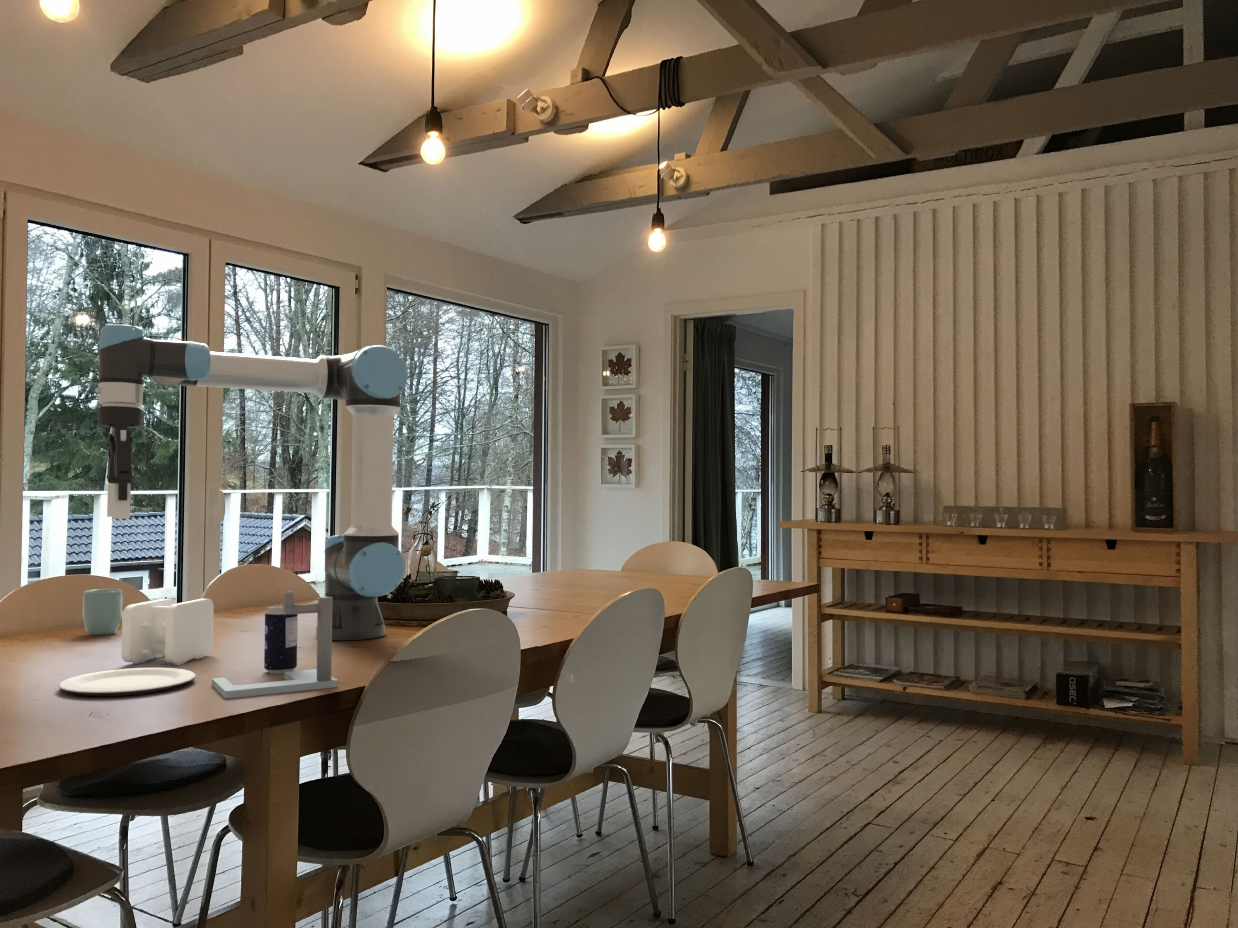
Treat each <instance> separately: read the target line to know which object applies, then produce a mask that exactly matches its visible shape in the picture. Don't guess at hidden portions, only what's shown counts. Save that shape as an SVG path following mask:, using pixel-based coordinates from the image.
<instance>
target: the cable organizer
mask: <svg viewBox="0 0 1238 928" xmlns="http://www.w3.org/2000/svg"><path fill="white" fill-rule="evenodd" d="M214 610H215V609H214V603H213V601H212V599H211V598H198V599H193V600H189V601H184V602H178V603H176V601H175V600H174V599H172V598H160V599H154V600H148V601H143V602H142V601H141V602H138V603H132V604H128V605H127V606H125V608H124V609H123V610H122V616H121V659H122V661H124V662H126V663H132V664H133V665H139V664H142V663H145V662H147V660H149V659H150V660H151V659H160V658H165V661H166V662H168V663H171V664H173V665H174V666H180V665H183V664H185V663H187V662H188V661H189V660H192V659H193V660H199V659H202V658H205V657H206V655H208V654H210V653H211V651H212V649H213V646H214Z"/></svg>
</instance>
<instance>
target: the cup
mask: <svg viewBox="0 0 1238 928" xmlns="http://www.w3.org/2000/svg"><path fill="white" fill-rule="evenodd" d="M122 611H123V590H122V588H121V589H119V588H98V589H97V588H96V589H87V590H84V591H83V596H82V620H83V626H84V629H85V631H86V632H87V633H88V634H89V635H90V636H91V635H92V636H107V635H111V634H112V635H113V634H114V633H116V632H117V631H118V629H119V628H120V626H121V623H122Z"/></svg>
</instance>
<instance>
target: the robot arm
mask: <svg viewBox="0 0 1238 928" xmlns="http://www.w3.org/2000/svg"><path fill="white" fill-rule="evenodd" d="M144 333H145V332H144V329H143V328H141V327H140V326H136V325H135V326H134V325H129V324H120V323H119V324H106V325H105V326H103V327H102V328H101V329H100V335H99V345H98V387H96V388H95V389H94V392H95V393H97V394H99V395H98V404H100V405H101V406H100V407H99V408H97V425H98V426H100V427H102V428H112V429H111V432H109V434H108V436H107V439H106V441H107V442H106V443H107V456H108V460H107V461H108V462H107V475H106V479H107V482H108V483H107V502H106V503H107V508H106V511H107V512H106V513H107V514H106V516H107V518H108V517H109V518H112V517H113V518H112V519H113V520H118V519H120V520H121V519H123V520H125V519H126V520H128V519H131V491H132V490H131V486H132V485H131V482H132V479H133V473H132V472H133V471H132V451H133V450H132V446H133V445H132V444H133V437H132V431H131V429H137V428H141V427H142V426H143V410H142V408H140V406H142V405H143V403H144V402H143V401H144V398H143V397H144V393H143V392H144V385H143V382H144V381H143V380H144V377H145V378H150V379H151V380H152V382H154V383H155V384H158V385H160V386H163V387H175V386H182V387H183V386H184V387H186V386H187V387H205V388H209V387H210V388H222V389H223V388H225V389H240V390H242V389H244V390H258V391H259V390H260V391H272V392H273V391H276V392H288V393H289V392H292V393H306V394H307V393H308V394H314V395H316V397H317V398H320V399H330V400H331V399H332V400H340V401H345V409H346V410H347V411H348V412H349V413H350V415H352V436H351V437H352V445H351V446H352V447H351V449H352V452H351V453H352V454H351V455H352V456H351V505H350V506H351V508H350V509H351V510H350V511H351V514H350V516H351V518H350V519H351V520H350V526H349V528H348V529H346V531H344V533H343V534H336V535H332V536H331V535H330V536H329V537H328V538H327V539H326V542H325V548H324V562H325V563H324V597H332V641H357V640H361V641H362V640H368V639H376V638H380V637H383V636H385V635H386V634H385V633H386V632H385V631H386V630H385V629H386V627H385V622H384V619H383V616H382V612H381V609H380V606H379V603H378V597H383V596H386V595H388V594H390V593H391V592H393V591H395V590H396V589H397V588H398V587H399V585H400V584H401V583H402V581H403V579H404V576H405V572H406V562H405V558H404V556H403V553H402V552H401V550H400V549H399V548H400V547H399V545H400V544H399V542H400V541H399V540H400V539H399V537H400V535H399V534H400V533H399V532H398V531H397V530H396V529H395V528H394V527H393V462H394V461H393V460H394V459H393V455H394V453H393V452H394V451H393V450H394V448H393V447H394V446H393V445H394V417H395V415H397V413H398V412H399V411H400V410H401V401H402V400H401V398H402V397H401V392H402V391H404V389H405V387H406V385H407V381H408V376H409V373H408V366H407V365H406V364H407V363H405V360H404V358H403V357H402V356H401V355H400V354H399V353H398V352H397V351H396V350H395V349H393V348H390V347H388V346H385V345H382V344H381V345H379V344H377V345H367V346H364V347H362V348H361V349H358V350H356V351H353V352H349V353H346V354H341V355H324V354H323V355H319V356H318V357H317V358H316V359H314V358H313V359H312V358H311V359H310V358H299V357H288V356H287V357H286V356H273V355H272V356H271V355H261V354H260V355H258V354H248V353H247V354H245V353H235V352H233V353H231V352H221V351H220V352H218V351H211V349H210V347H209V345H207V344H206V343H203V342H201V343H200V342H197V341H191V340H189V341H186V340H185V341H184V340H183V341H182V340H167V339H157V338H154V339H153V338H149V337H145V334H144ZM129 429H130V430H129ZM315 630H316V632H315V633H316V635H315V637H316V638H317V627H315Z"/></svg>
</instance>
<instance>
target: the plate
mask: <svg viewBox="0 0 1238 928" xmlns="http://www.w3.org/2000/svg"><path fill="white" fill-rule="evenodd" d="M196 676H197V674H196V673H194V672H193V671H192V670H188V669H183V668H176V667H133V668H120V669H110V670H109V669H108V670H103V671H95V672H90V673H85V674H80V675H76V676H72V677H69V678H67V679H65V680H62V681H61V682H60V683H59V684H58V688H59V689H60V690H61V691H63V692H67V693H72V694H79V695H84V696H90V697H91V696H92V697H97V696H98V697H119V696H120V697H121V696H124V697H125V696H135V695H143V694H145V695H146V694H151V693H157V692H161V691H166V690H169V689H172V688H176V687H178V686H179V687H180V686H182V685H185V684H188V683H190V682H192V681H194V680H195V679H196Z"/></svg>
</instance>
